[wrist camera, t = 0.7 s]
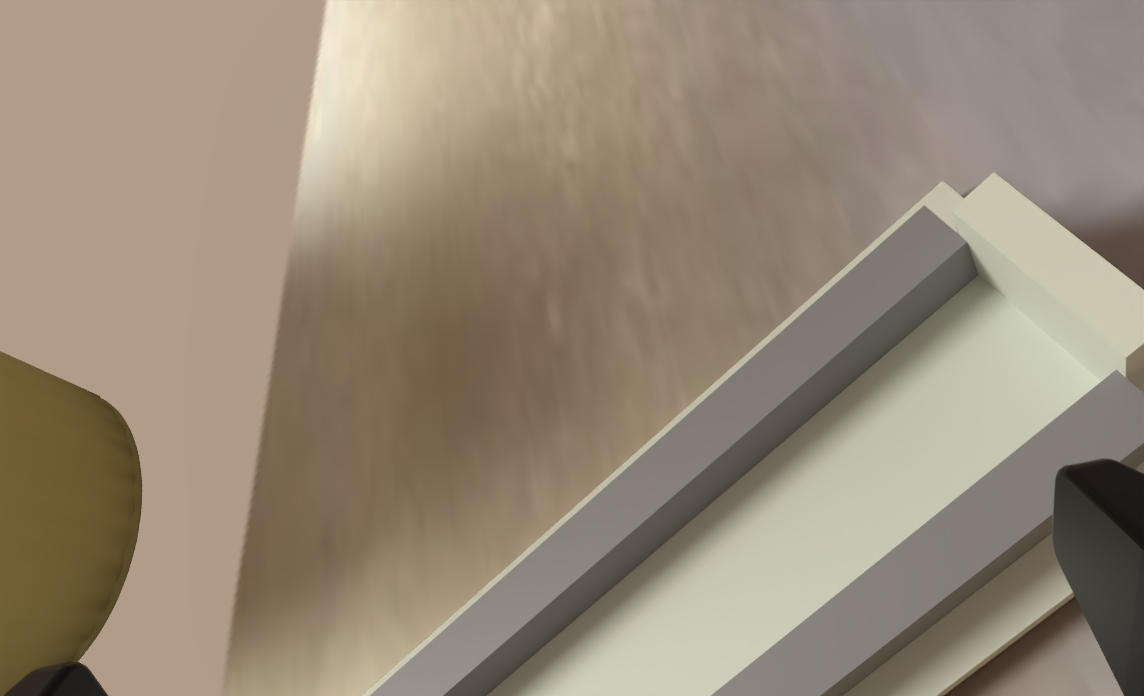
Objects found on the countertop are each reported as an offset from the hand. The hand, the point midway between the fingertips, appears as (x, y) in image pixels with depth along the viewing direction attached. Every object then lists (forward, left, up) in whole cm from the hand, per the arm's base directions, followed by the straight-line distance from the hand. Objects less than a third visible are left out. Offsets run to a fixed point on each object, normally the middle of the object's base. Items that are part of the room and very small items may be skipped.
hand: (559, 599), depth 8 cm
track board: (+3, +2, -13) cm, 14 cm away
